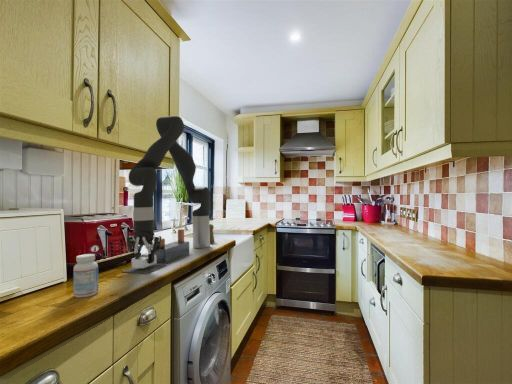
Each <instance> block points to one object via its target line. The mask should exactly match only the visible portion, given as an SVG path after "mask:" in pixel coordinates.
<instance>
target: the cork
mask: <svg viewBox="0 0 512 384" xmlns="http://www.w3.org/2000/svg"><path fill="white" fill-rule="evenodd" d="M209 227H210V244H214V243H215V236H214V225H213V224H210V223H209ZM213 242H214V243H213Z"/></svg>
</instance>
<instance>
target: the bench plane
mask: <svg viewBox="0 0 512 384" xmlns="http://www.w3.org/2000/svg"><path fill="white" fill-rule="evenodd" d="M165 240H166V239H165V238H162V237H161V242H160V247H159V251H157V252H155V253H154V255H156V257H157V263H156V264H155V265H167V264H169V263H171V262H173V261H176V260H178V259H181V258H183V257H185V256H187V255H190V241H187V240H186V241H185V229H184V228H183V229H182V228H181V229H180V228H179V229H177V240H176V241H173V242H170V243H167V244H166V241H165Z"/></svg>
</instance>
